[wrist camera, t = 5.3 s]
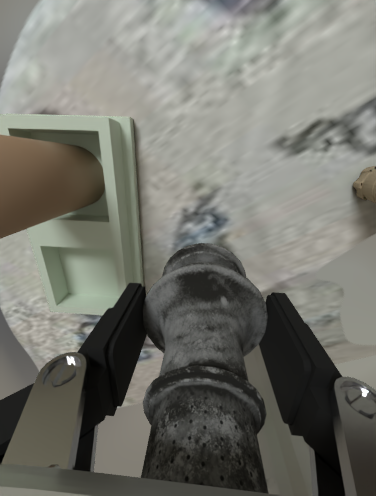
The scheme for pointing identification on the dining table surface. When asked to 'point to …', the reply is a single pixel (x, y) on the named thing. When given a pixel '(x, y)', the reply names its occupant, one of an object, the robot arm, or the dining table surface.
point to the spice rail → (88, 231)
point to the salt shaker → (205, 372)
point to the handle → (366, 184)
